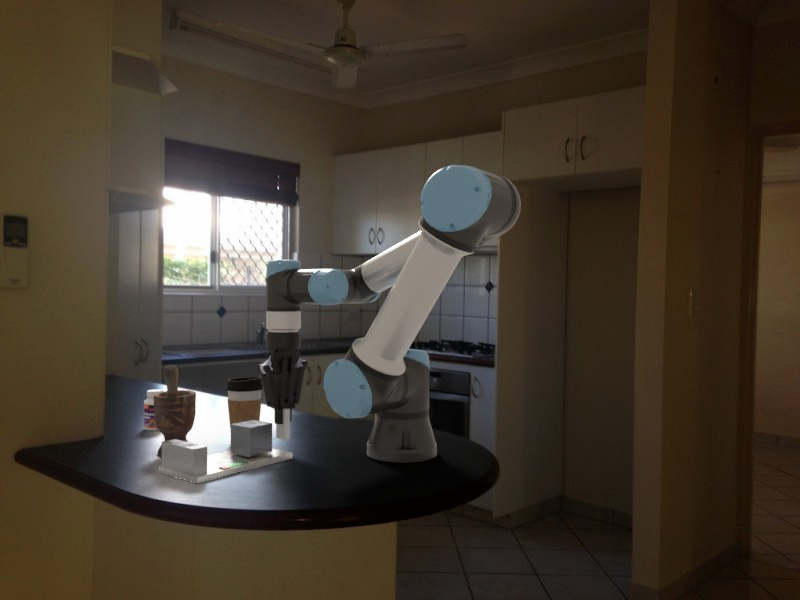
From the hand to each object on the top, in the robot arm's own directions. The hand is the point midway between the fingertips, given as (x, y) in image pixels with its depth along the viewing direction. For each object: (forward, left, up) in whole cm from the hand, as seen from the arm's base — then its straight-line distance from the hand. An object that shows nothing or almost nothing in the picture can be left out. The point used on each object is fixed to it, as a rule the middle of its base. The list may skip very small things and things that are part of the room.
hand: (283, 438), depth 151 cm
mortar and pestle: (+15, +17, -3) cm, 23 cm away
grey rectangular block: (-1, +9, -1) cm, 9 cm away
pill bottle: (+43, +4, -3) cm, 43 cm away
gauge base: (0, +15, -3) cm, 15 cm away
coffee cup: (+14, -1, -3) cm, 14 cm away
